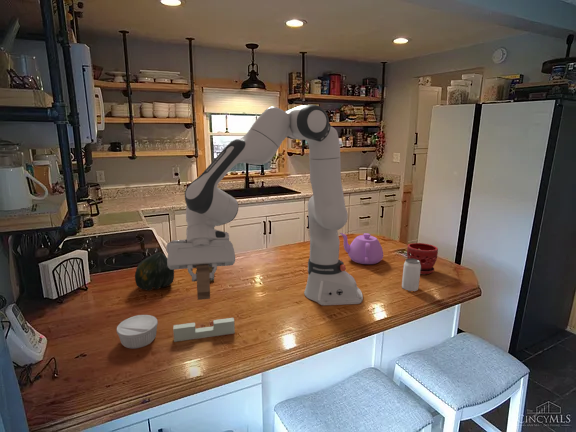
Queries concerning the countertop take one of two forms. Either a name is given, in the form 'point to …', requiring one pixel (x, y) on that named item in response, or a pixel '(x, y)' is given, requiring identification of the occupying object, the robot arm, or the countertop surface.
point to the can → (411, 274)
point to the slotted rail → (203, 330)
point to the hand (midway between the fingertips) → (203, 280)
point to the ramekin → (137, 331)
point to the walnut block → (203, 282)
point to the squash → (154, 272)
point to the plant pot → (423, 256)
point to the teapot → (364, 249)
